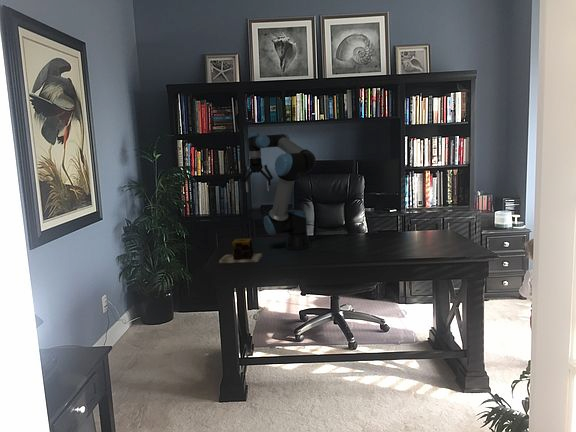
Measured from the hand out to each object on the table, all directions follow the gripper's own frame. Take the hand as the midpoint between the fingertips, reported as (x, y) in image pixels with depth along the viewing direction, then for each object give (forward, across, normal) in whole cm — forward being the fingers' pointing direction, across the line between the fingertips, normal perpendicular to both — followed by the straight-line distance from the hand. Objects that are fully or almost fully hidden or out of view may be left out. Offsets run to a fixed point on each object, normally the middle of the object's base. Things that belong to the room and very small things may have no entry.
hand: (257, 191), depth 315 cm
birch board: (+35, +5, +38) cm, 52 cm away
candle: (+33, +3, +40) cm, 52 cm away
